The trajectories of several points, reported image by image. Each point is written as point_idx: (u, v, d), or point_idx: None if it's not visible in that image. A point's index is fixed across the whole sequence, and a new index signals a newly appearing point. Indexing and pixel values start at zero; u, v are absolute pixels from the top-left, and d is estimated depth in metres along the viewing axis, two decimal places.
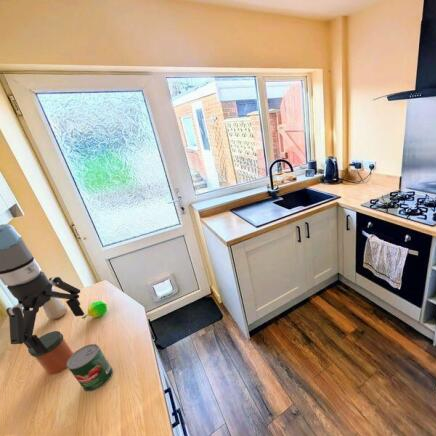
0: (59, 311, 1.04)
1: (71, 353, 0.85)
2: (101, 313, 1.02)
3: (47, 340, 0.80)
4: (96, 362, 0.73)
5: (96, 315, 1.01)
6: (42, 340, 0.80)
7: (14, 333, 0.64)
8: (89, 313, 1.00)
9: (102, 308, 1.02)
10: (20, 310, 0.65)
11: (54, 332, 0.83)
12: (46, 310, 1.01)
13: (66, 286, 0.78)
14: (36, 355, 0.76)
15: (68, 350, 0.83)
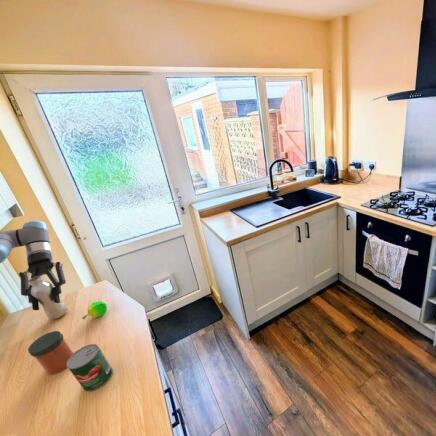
0: (59, 311, 1.04)
1: (71, 353, 0.85)
2: (101, 313, 1.02)
3: (47, 340, 0.80)
4: (96, 362, 0.73)
5: (96, 315, 1.01)
6: (42, 340, 0.80)
7: (62, 276, 1.05)
8: (89, 313, 1.00)
9: (102, 308, 1.02)
10: None
11: (54, 332, 0.83)
12: (46, 310, 1.01)
13: None
14: (36, 355, 0.76)
15: (68, 350, 0.83)
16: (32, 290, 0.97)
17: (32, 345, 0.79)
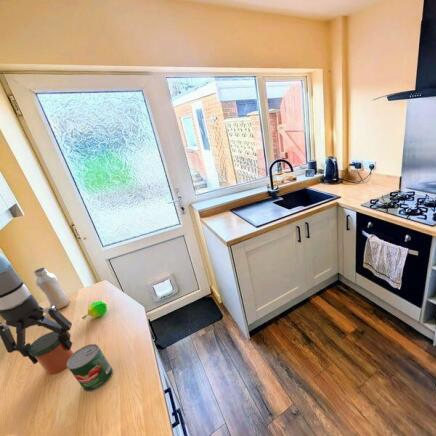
0: (62, 302, 1.09)
1: (71, 353, 0.85)
2: (101, 313, 1.02)
3: (47, 340, 0.80)
4: (96, 362, 0.73)
5: (96, 315, 1.01)
6: (42, 340, 0.80)
7: (65, 321, 0.81)
8: (89, 313, 1.00)
9: (102, 308, 1.02)
10: None
11: (54, 332, 0.83)
12: (50, 300, 1.07)
13: None
14: (36, 355, 0.76)
15: (68, 350, 0.83)
16: (37, 281, 1.03)
17: (32, 345, 0.79)
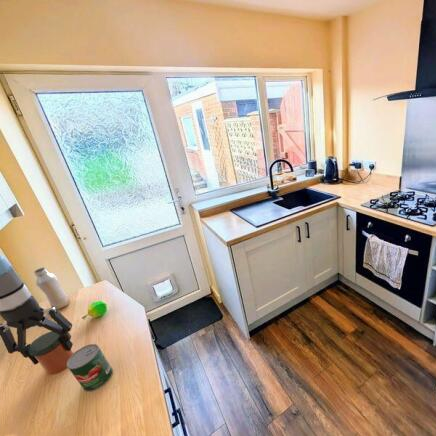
0: (62, 302, 1.09)
1: (71, 353, 0.85)
2: (101, 313, 1.02)
3: (43, 340, 0.80)
4: (96, 362, 0.73)
5: (96, 315, 1.01)
6: (42, 344, 0.78)
7: (66, 321, 0.81)
8: (89, 313, 1.00)
9: (102, 308, 1.02)
10: None
11: (30, 347, 0.78)
12: (50, 300, 1.07)
13: None
14: None
15: None
16: (37, 281, 1.03)
17: (49, 344, 0.78)
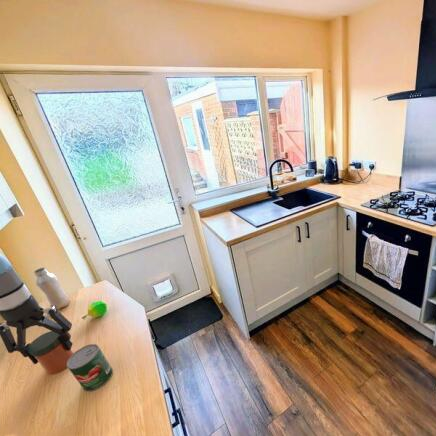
0: (62, 302, 1.09)
1: (71, 353, 0.85)
2: (101, 313, 1.02)
3: (42, 342, 0.79)
4: (96, 362, 0.73)
5: (96, 315, 1.01)
6: (49, 337, 0.80)
7: (65, 321, 0.81)
8: (89, 313, 1.00)
9: (102, 308, 1.02)
10: None
11: (52, 341, 0.79)
12: (50, 300, 1.07)
13: None
14: None
15: None
16: (37, 281, 1.03)
17: (49, 332, 0.82)
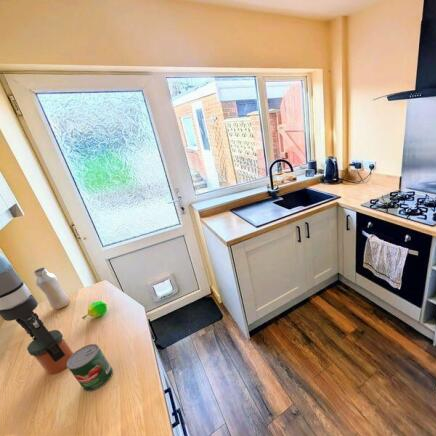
0: (62, 302, 1.09)
1: (71, 353, 0.85)
2: (101, 313, 1.02)
3: None
4: (96, 362, 0.73)
5: (96, 315, 1.01)
6: (39, 341, 0.79)
7: None
8: (89, 313, 1.00)
9: (102, 308, 1.02)
10: None
11: None
12: (50, 300, 1.07)
13: (36, 335, 0.73)
14: (43, 352, 0.77)
15: (68, 350, 0.83)
16: (37, 281, 1.03)
17: (30, 347, 0.77)
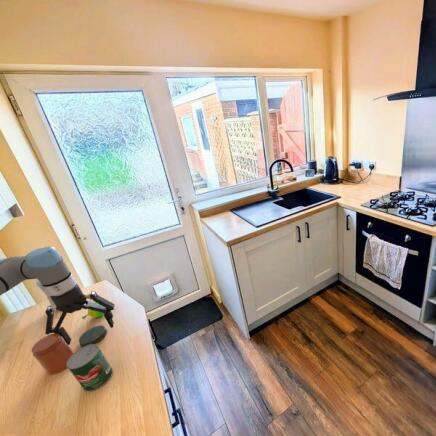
0: None
1: (71, 353, 0.85)
2: (101, 313, 1.02)
3: (92, 332, 0.93)
4: (96, 362, 0.73)
5: (96, 315, 1.01)
6: (88, 337, 0.91)
7: None
8: (89, 313, 1.00)
9: None
10: (50, 312, 0.82)
11: (84, 333, 0.93)
12: (50, 300, 1.07)
13: (99, 303, 0.89)
14: (103, 336, 0.93)
15: (68, 350, 0.83)
16: (37, 281, 1.03)
17: (88, 341, 0.89)
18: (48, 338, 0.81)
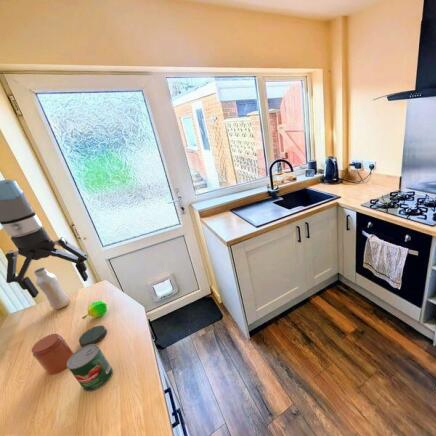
0: (62, 302, 1.09)
1: (71, 353, 0.85)
2: (101, 313, 1.02)
3: (92, 332, 0.93)
4: (96, 362, 0.73)
5: (96, 315, 1.01)
6: (88, 337, 0.91)
7: None
8: (89, 313, 1.00)
9: (102, 308, 1.02)
10: (11, 257, 0.73)
11: (84, 333, 0.93)
12: (50, 300, 1.07)
13: (69, 250, 0.80)
14: (103, 336, 0.93)
15: (68, 350, 0.83)
16: (37, 281, 1.03)
17: (88, 341, 0.89)
18: (48, 338, 0.81)
